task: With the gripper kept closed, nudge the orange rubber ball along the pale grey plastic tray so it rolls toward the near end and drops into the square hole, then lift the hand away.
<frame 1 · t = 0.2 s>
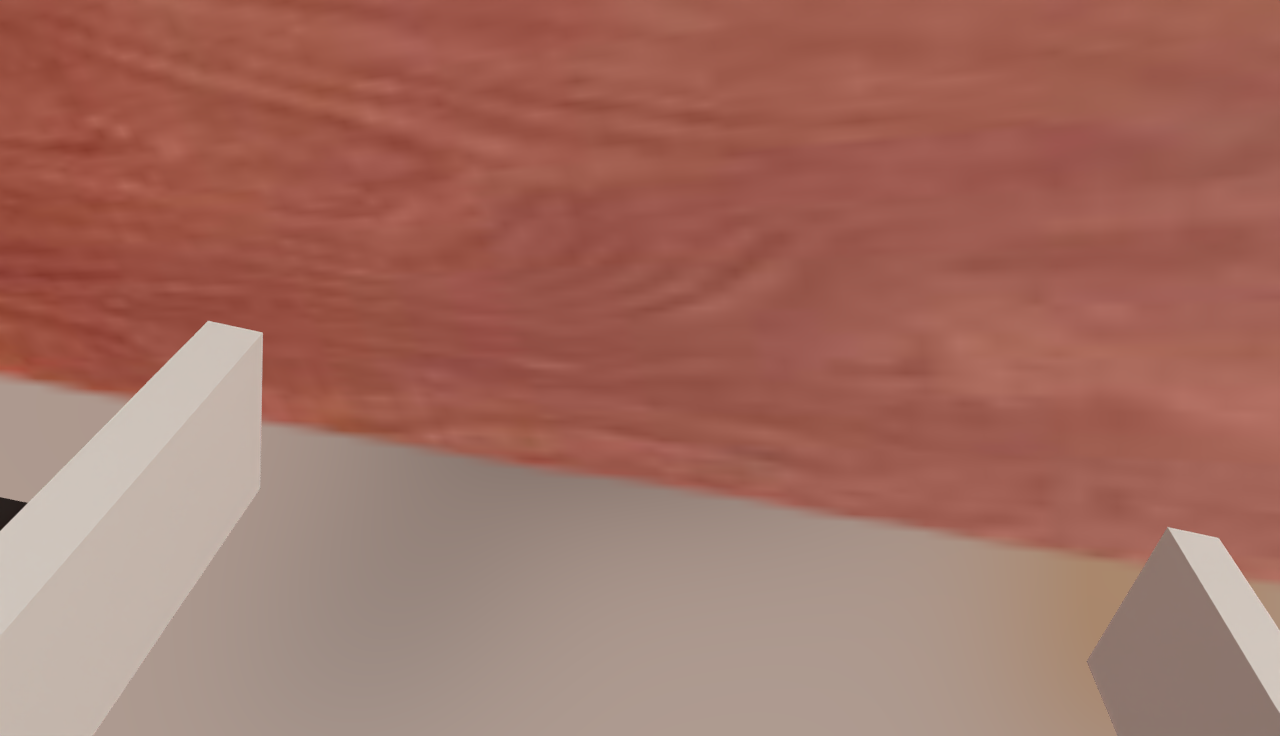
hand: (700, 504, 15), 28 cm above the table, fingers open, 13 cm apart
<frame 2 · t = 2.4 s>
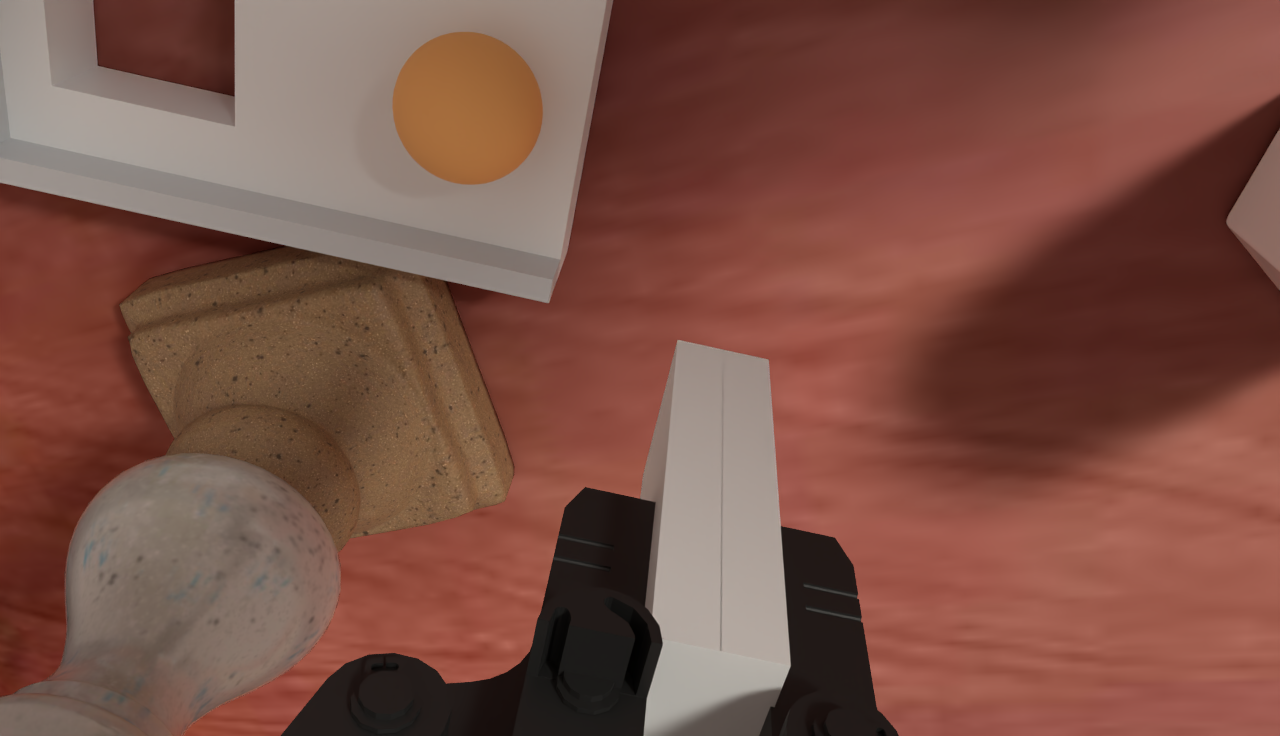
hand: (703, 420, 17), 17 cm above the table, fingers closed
ball: (468, 109, 27), point 4 cm above the table, touching tray
tray: (309, 26, 31), on the table
candle holder: (338, 378, 38), on the table
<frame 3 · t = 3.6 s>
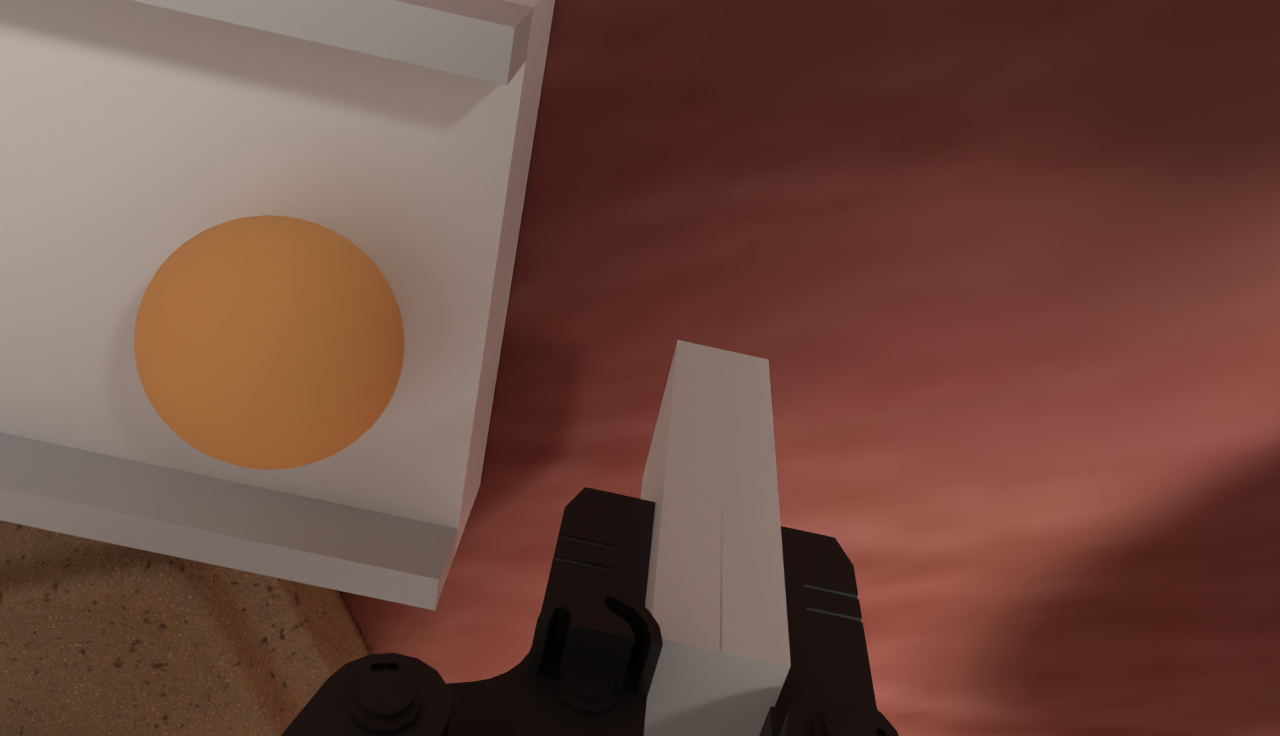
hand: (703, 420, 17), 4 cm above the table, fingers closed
ball: (275, 342, 16), point 4 cm above the table, touching tray
tray: (61, 168, 20), on the table
candle holder: (163, 637, 26), on the table
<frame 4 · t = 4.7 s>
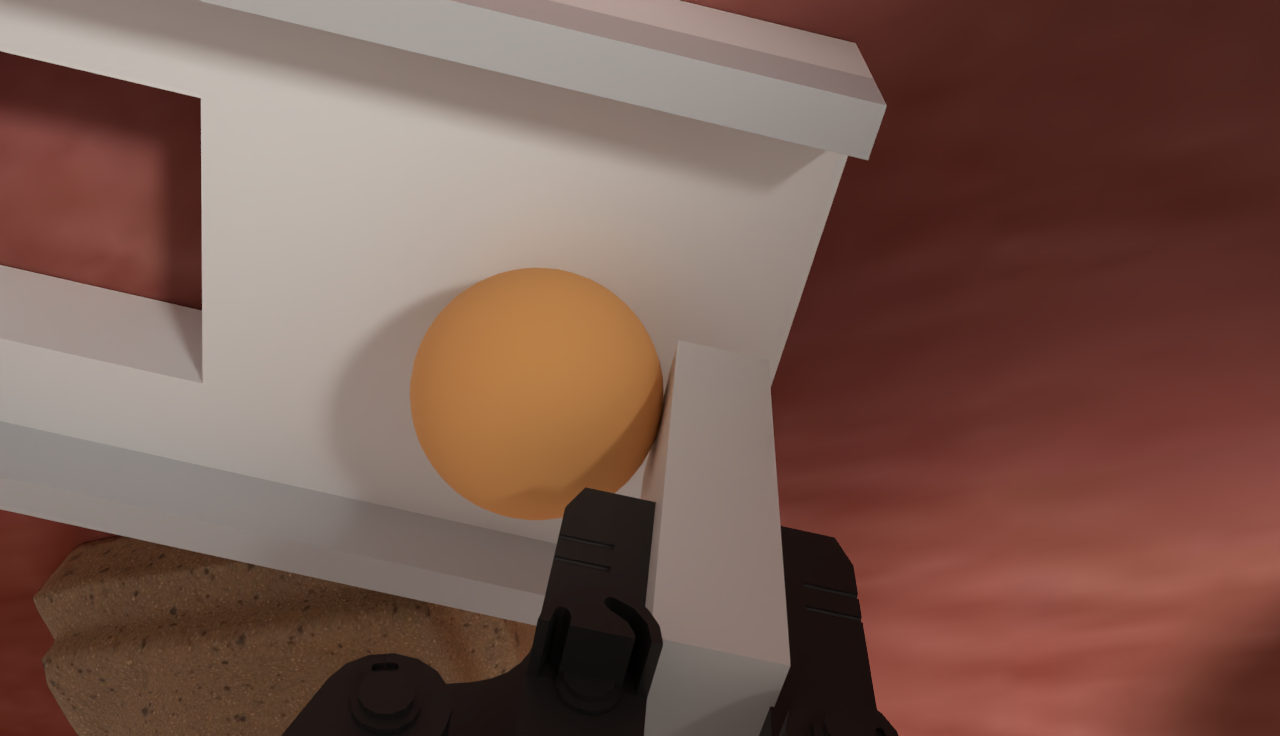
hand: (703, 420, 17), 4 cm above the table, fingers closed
ball: (538, 393, 16), point 4 cm above the table, tilted 23°, touching tray
tray: (322, 216, 20), on the table
candle holder: (354, 670, 26), on the table
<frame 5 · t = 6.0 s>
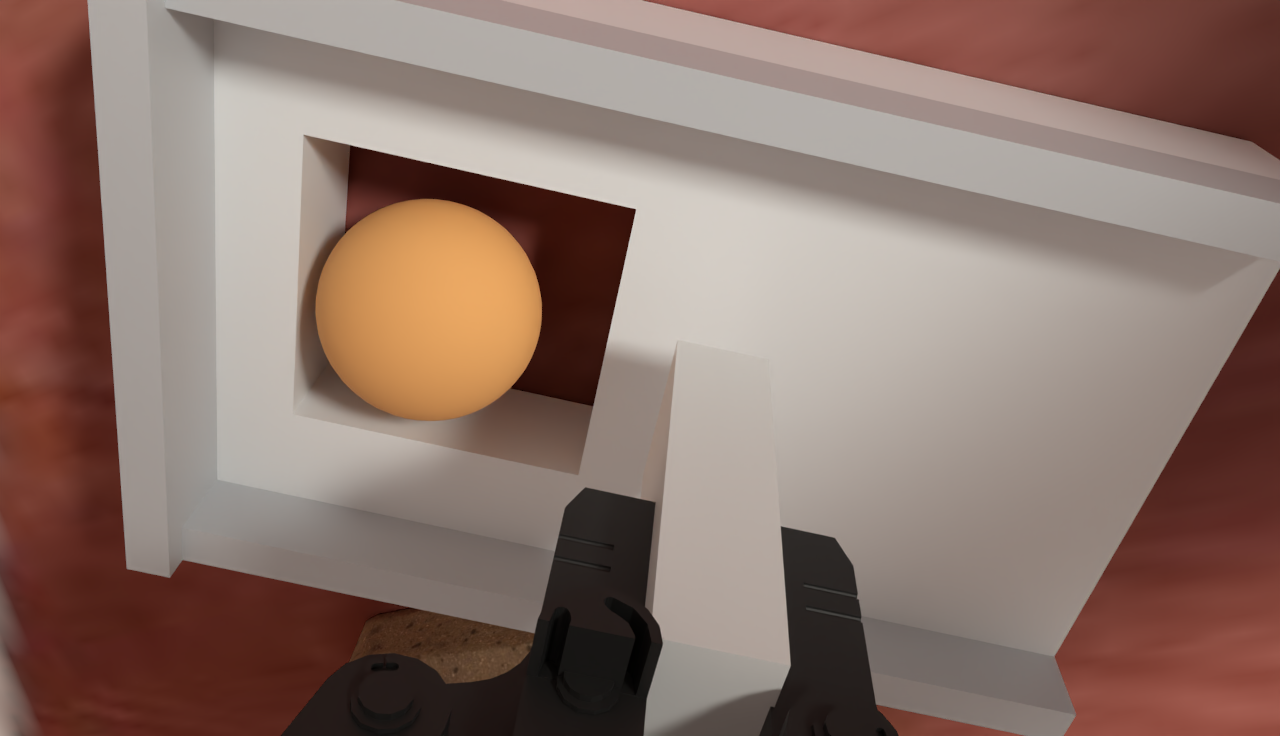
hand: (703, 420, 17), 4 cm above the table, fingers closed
ball: (431, 310, 18), point 2 cm above the table, tilted 27°
tray: (679, 305, 20), on the table
candle holder: (626, 734, 27), on the table
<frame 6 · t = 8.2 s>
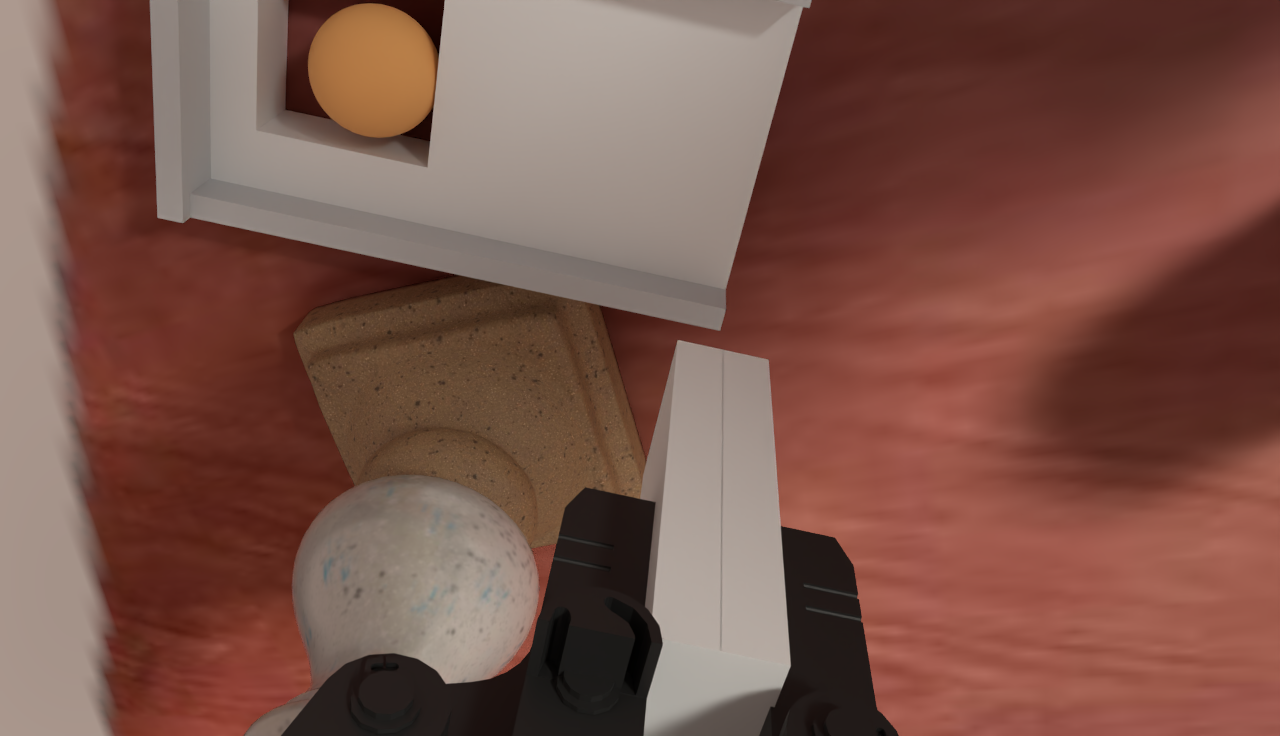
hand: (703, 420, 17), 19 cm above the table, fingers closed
ball: (375, 71, 31), point 2 cm above the table, tilted 62°
tray: (492, 72, 33), on the table
candle holder: (487, 401, 39), on the table
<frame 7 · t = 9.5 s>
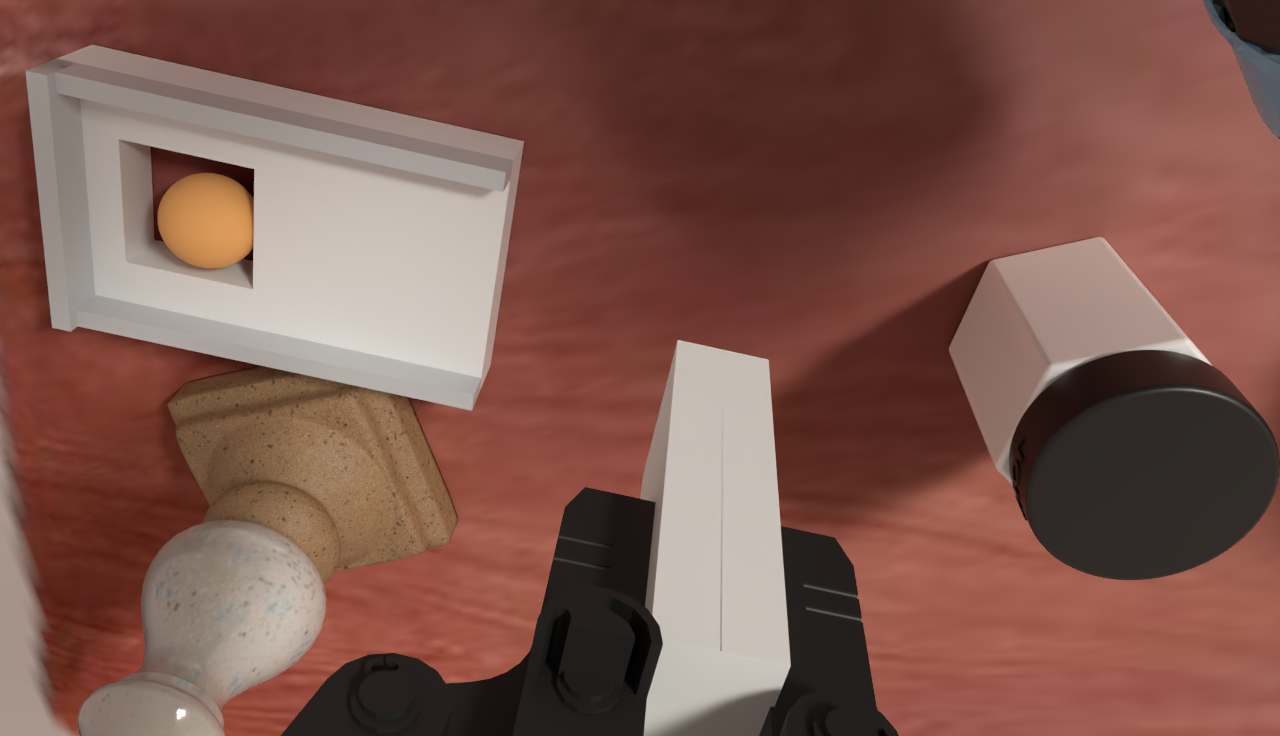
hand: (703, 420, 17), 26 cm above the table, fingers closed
ball: (210, 221, 42), point 2 cm above the table, tilted 60°
tray: (305, 216, 44), on the table
candle holder: (326, 452, 51), on the table
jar: (1050, 324, 44), on the table
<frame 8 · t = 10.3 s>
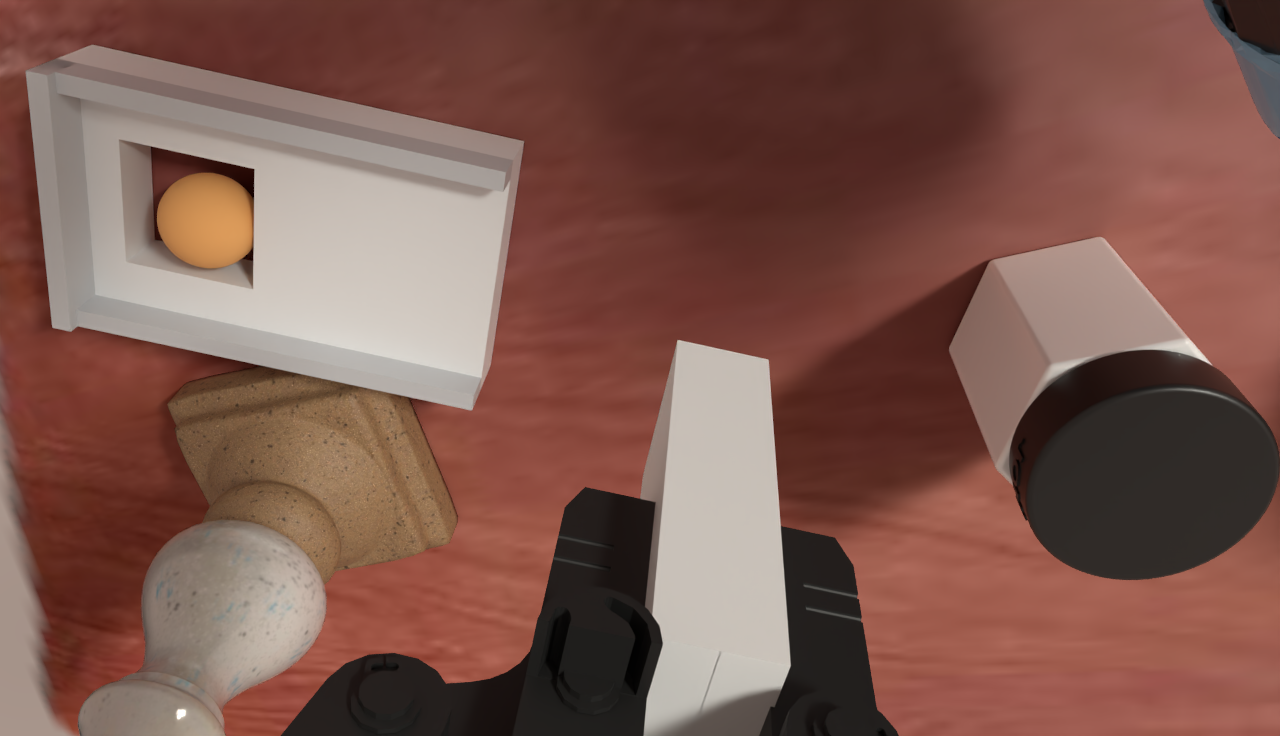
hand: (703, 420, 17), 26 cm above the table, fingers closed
ball: (209, 220, 42), point 2 cm above the table, tilted 59°
tray: (305, 216, 44), on the table
candle holder: (326, 452, 51), on the table
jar: (1050, 324, 44), on the table
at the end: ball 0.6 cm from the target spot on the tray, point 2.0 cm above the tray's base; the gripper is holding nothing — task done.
